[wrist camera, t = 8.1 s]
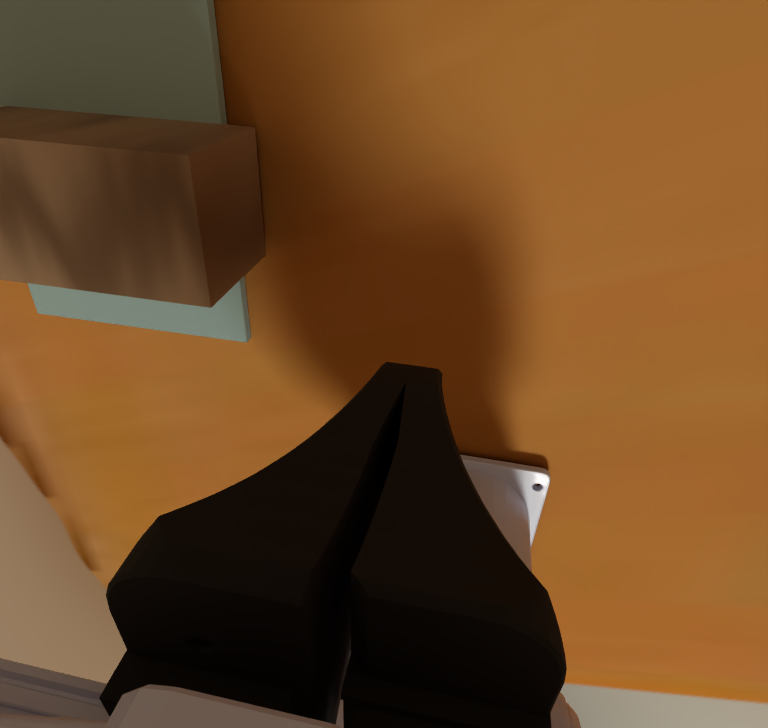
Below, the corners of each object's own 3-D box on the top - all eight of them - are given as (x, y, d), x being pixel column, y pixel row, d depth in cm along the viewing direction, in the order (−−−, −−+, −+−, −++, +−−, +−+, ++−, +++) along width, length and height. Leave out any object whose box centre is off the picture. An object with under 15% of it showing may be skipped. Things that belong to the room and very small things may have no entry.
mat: (251, 337, 26) (246, 342, 25) (45, 308, 27) (38, 313, 27) (201, -103, 17) (194, -106, 17) (-98, -108, 18) (-111, -111, 18)
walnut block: (211, 307, 19) (-66, 270, 20) (265, 254, 23) (32, 227, 24) (188, 155, 16) (-131, 125, 17) (255, 126, 20) (-7, 105, 21)
